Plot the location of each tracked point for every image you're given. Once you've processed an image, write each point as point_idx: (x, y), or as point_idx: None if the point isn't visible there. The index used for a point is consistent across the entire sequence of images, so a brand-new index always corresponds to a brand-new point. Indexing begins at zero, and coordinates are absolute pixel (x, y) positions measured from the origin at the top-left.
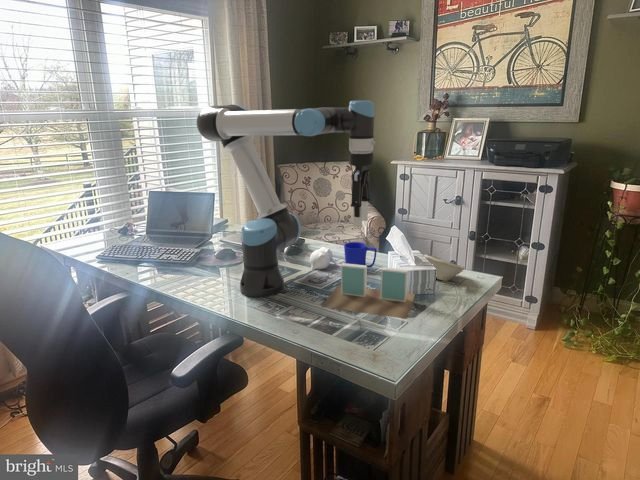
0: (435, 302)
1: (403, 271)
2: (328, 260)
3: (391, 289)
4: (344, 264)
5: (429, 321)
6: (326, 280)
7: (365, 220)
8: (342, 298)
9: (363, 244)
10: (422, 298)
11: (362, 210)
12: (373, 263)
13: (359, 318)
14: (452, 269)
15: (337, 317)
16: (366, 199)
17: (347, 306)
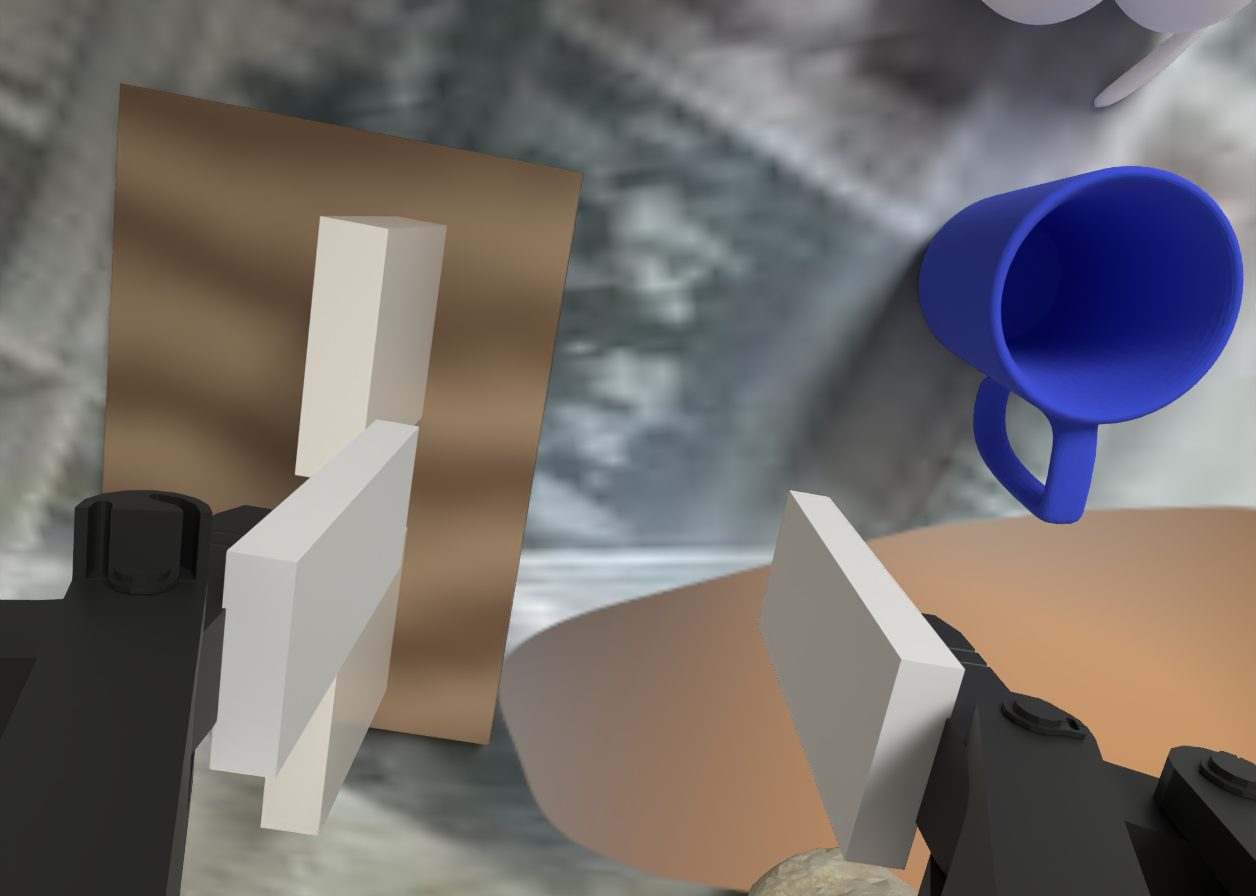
0: (434, 841)
1: (268, 800)
2: (1012, 5)
3: None
4: (348, 252)
5: None
6: (739, 41)
7: (763, 602)
8: (310, 237)
9: (1164, 389)
10: (482, 772)
11: (820, 630)
12: (983, 457)
13: (84, 383)
14: None
15: (57, 227)
16: (924, 876)
17: (176, 291)
